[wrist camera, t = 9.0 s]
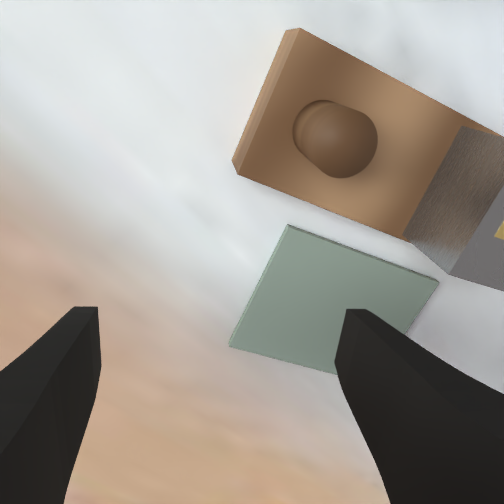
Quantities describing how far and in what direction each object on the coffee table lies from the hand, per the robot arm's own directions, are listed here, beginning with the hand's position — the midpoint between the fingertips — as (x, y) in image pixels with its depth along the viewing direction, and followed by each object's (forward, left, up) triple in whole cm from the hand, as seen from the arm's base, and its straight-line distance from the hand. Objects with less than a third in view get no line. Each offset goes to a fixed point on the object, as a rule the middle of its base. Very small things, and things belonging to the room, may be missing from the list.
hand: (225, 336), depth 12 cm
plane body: (-9, -6, -10) cm, 15 cm away
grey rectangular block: (-10, -6, -7) cm, 14 cm away
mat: (-9, +3, -10) cm, 14 cm away
